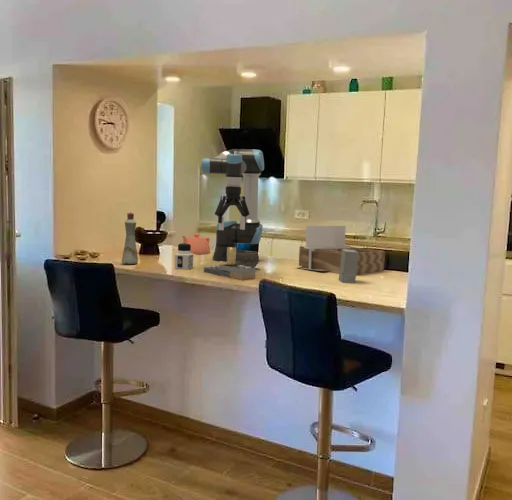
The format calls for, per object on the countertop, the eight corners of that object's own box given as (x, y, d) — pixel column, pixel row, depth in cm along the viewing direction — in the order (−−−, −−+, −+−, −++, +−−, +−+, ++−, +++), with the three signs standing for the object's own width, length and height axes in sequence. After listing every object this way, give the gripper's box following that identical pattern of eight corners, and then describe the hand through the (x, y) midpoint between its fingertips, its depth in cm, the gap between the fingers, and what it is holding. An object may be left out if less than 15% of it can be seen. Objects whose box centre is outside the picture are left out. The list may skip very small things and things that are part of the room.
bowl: (261, 269, 308) (262, 251, 307) (252, 273, 293) (253, 253, 292) (237, 267, 312) (238, 249, 311) (227, 271, 298) (227, 251, 297)
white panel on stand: (327, 265, 336) (328, 225, 334) (356, 267, 320) (356, 226, 318) (293, 267, 317) (294, 225, 315) (322, 271, 301) (323, 226, 300)
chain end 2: (231, 274, 288) (232, 262, 287) (255, 279, 275) (256, 266, 274) (218, 275, 282) (219, 263, 282) (242, 280, 269) (243, 267, 268)
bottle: (117, 263, 309) (118, 211, 306) (127, 262, 318) (128, 211, 315) (131, 265, 306) (132, 212, 303) (141, 263, 314) (142, 212, 312)
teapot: (191, 257, 348) (191, 235, 347) (171, 255, 358) (172, 233, 357) (218, 255, 368) (218, 234, 367) (198, 252, 378) (199, 232, 377)
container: (188, 269, 298) (189, 244, 296) (174, 268, 299) (174, 243, 298) (193, 267, 305) (193, 243, 304) (179, 266, 307) (179, 242, 305)
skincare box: (338, 281, 278) (339, 248, 276) (352, 281, 279) (354, 249, 277) (342, 284, 270) (344, 250, 268) (357, 284, 270) (359, 251, 269)
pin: (237, 276, 282) (238, 247, 280) (230, 276, 279) (231, 248, 277) (231, 274, 285) (232, 246, 284) (224, 275, 282) (225, 247, 281)
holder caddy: (332, 264, 341) (333, 244, 340) (383, 272, 314) (385, 251, 313) (298, 267, 321) (299, 246, 320) (350, 276, 294) (351, 253, 293)
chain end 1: (216, 270, 297) (216, 264, 296) (242, 276, 282) (243, 269, 281) (203, 272, 291) (204, 265, 291) (229, 277, 276) (229, 270, 276)
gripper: (247, 186, 289) (245, 228, 291) (208, 185, 272) (207, 229, 274) (257, 187, 284) (255, 229, 286) (218, 185, 267) (216, 230, 269)
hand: (231, 229), depth 280 cm, fingers open, 13 cm apart
